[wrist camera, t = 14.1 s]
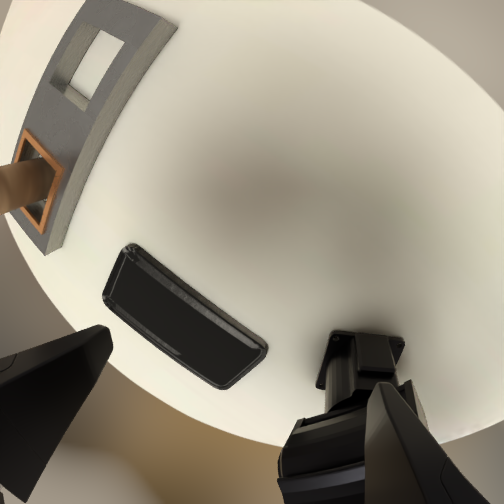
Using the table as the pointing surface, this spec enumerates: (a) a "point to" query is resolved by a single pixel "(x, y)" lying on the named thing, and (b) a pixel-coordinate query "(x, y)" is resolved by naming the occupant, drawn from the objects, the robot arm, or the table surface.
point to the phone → (180, 320)
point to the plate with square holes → (82, 109)
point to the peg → (24, 183)
